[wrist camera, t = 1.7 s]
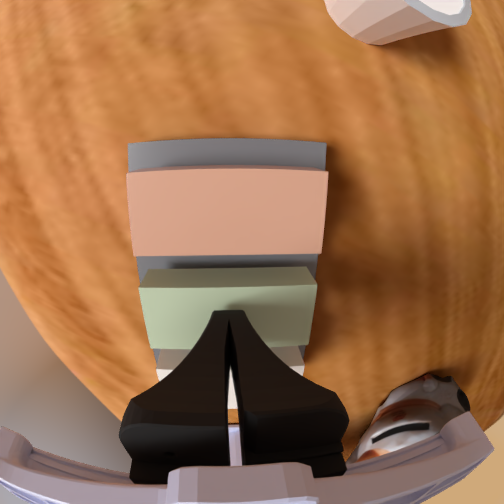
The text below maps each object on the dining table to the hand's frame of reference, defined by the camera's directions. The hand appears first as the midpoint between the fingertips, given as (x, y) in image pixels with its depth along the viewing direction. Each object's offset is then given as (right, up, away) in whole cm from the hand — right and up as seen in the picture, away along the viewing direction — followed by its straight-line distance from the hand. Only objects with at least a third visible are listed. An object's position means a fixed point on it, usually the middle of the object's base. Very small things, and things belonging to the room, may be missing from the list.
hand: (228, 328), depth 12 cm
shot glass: (+8, +19, 0) cm, 21 cm away
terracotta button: (0, +6, +1) cm, 6 cm away
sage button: (0, +1, +3) cm, 3 cm away
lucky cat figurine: (+17, -15, +14) cm, 27 cm away
